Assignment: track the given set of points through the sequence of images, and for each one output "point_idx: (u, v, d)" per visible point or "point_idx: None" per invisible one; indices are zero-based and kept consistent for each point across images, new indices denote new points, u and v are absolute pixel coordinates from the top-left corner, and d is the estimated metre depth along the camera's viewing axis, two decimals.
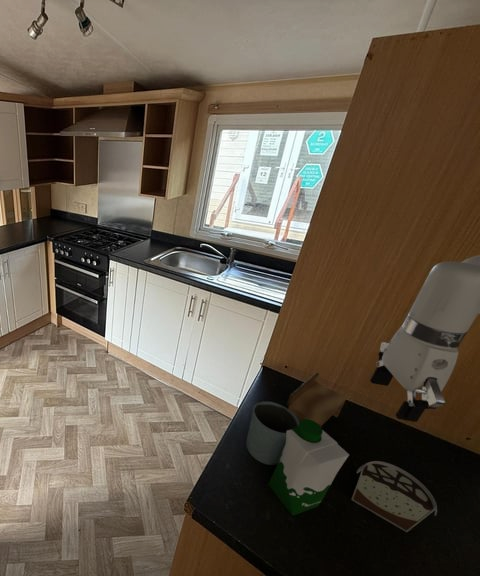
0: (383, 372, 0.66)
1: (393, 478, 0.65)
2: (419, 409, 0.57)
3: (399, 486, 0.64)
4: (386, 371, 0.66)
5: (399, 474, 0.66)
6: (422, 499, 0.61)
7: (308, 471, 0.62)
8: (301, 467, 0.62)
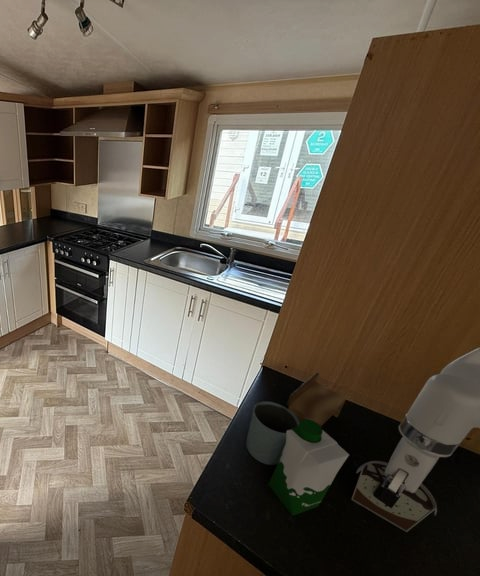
0: None
1: None
2: (389, 494, 0.63)
3: None
4: None
5: None
6: (422, 499, 0.61)
7: (308, 471, 0.62)
8: (301, 467, 0.62)
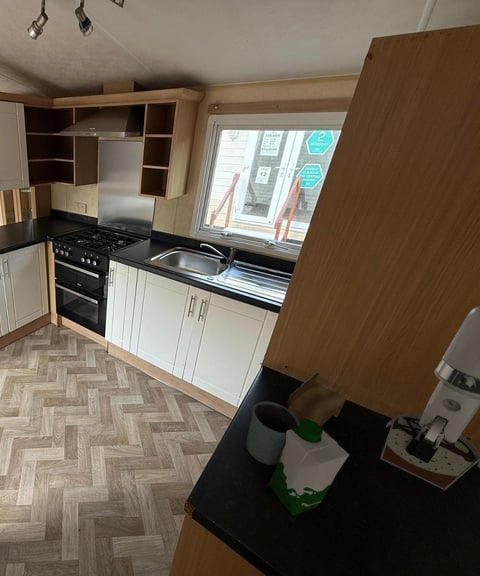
0: None
1: None
2: (425, 447, 0.56)
3: (436, 438, 0.57)
4: None
5: None
6: (463, 451, 0.55)
7: (308, 471, 0.62)
8: (301, 467, 0.62)
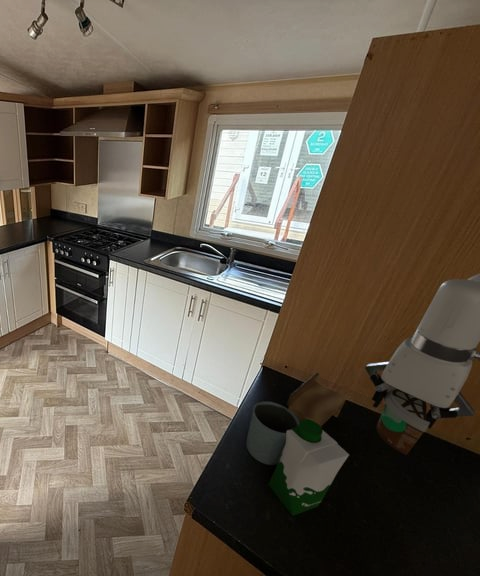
0: (384, 394, 0.65)
1: (410, 403, 0.62)
2: None
3: (419, 403, 0.62)
4: (385, 392, 0.66)
5: (395, 395, 0.64)
6: None
7: (308, 471, 0.62)
8: (301, 467, 0.62)
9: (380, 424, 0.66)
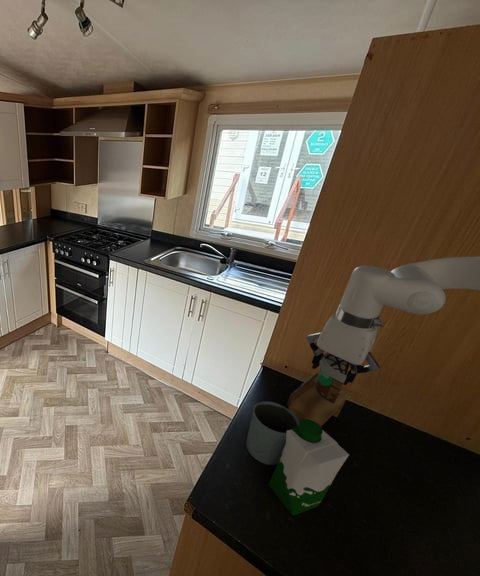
0: (320, 358, 0.83)
1: (337, 363, 0.80)
2: None
3: (344, 363, 0.80)
4: (321, 356, 0.83)
5: (328, 358, 0.82)
6: None
7: (308, 471, 0.62)
8: (301, 467, 0.62)
9: (317, 382, 0.84)
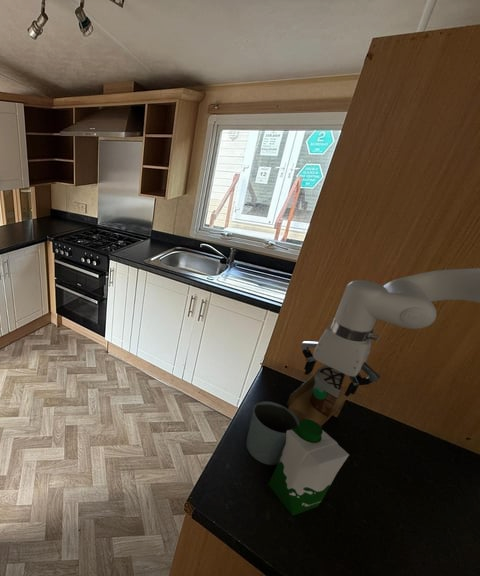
0: (312, 364, 0.85)
1: (331, 378, 0.82)
2: (358, 385, 0.78)
3: (338, 377, 0.82)
4: (313, 363, 0.85)
5: (322, 372, 0.84)
6: (341, 372, 0.84)
7: (308, 471, 0.62)
8: (301, 467, 0.62)
9: (312, 395, 0.86)
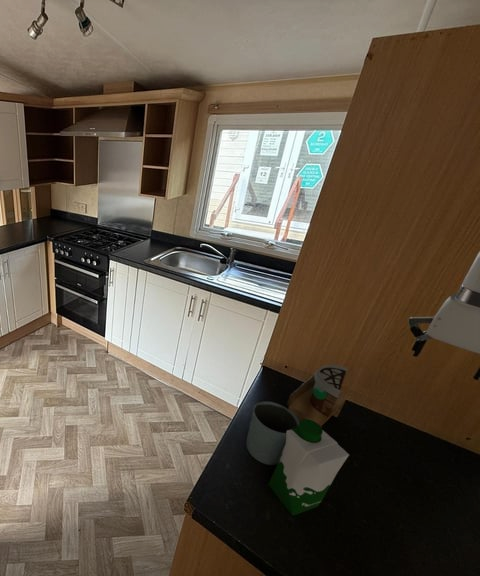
0: (424, 344, 0.72)
1: (331, 378, 0.82)
2: None
3: (338, 377, 0.82)
4: (425, 342, 0.72)
5: (322, 372, 0.84)
6: (341, 372, 0.84)
7: (308, 471, 0.62)
8: (301, 467, 0.62)
9: (312, 395, 0.86)
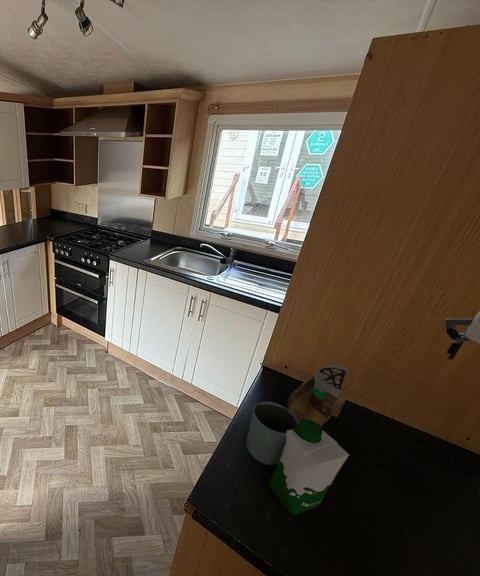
0: (460, 346, 0.69)
1: (331, 378, 0.82)
2: None
3: (338, 377, 0.82)
4: (461, 344, 0.69)
5: (322, 372, 0.84)
6: (341, 372, 0.84)
7: (308, 471, 0.62)
8: (301, 467, 0.62)
9: (312, 395, 0.86)
